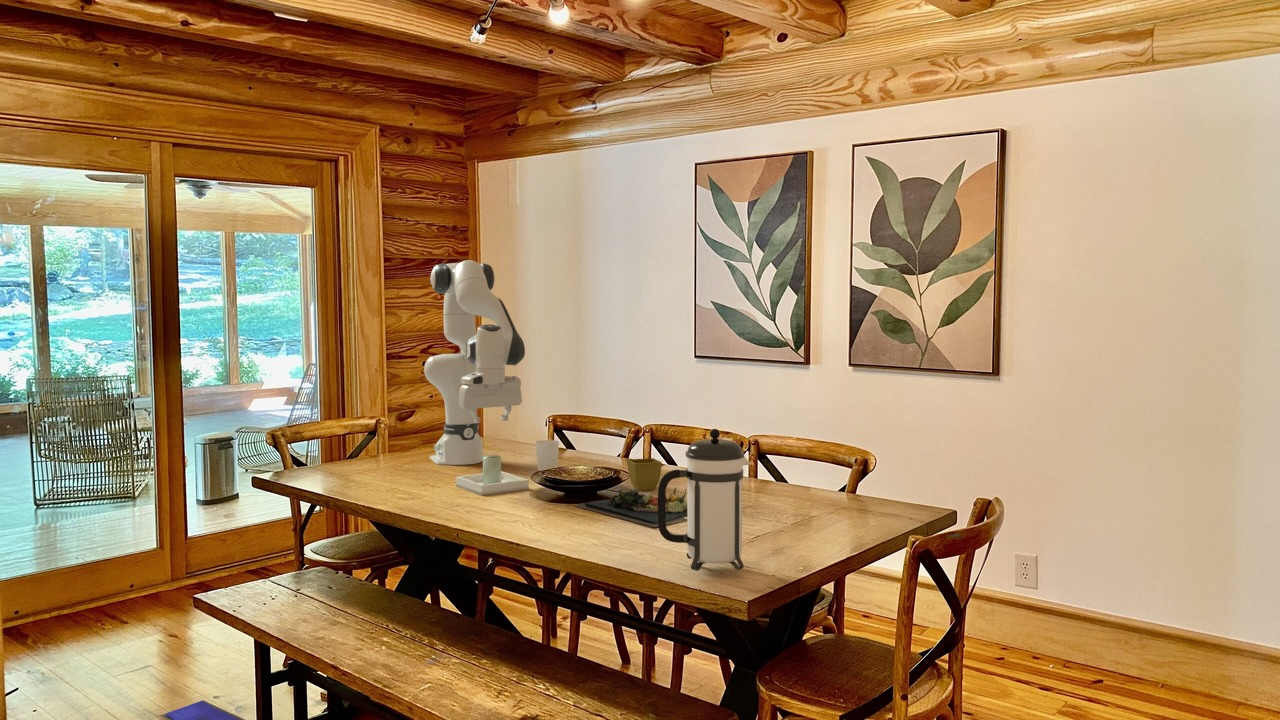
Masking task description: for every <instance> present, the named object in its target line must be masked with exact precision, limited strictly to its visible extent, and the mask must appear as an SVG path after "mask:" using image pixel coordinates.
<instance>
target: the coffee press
mask: <svg viewBox="0 0 1280 720" xmlns="http://www.w3.org/2000/svg"><path fill="white" fill-rule="evenodd" d="M709 436H710V437H711V438H709V439H708V438H707V439H699V440H696V441H694V442H692V443H691V444H690V445H689V446H688V448H687V450H686V451H685V457H686V459H687V468H686V470H685V469H673V470H670V471H668V472H666V473H665V474H664V475H663V476H662V477H661V478H660V480H659V483H658V485H657V486H658V487H657V497H658V530H659V532H660V535H661V536H662V537H663V539H665V540H666V541H668V542H671V543H678V544H679V543H681V544H687V553H686V558H687V559H689V560H692V562H691V564H690V568H691V570H693V571H696V572H699V571H700V569H701V567H702V566H703V565H704V564H727V563H729V564H731V565H732V566H733V568H734V570H735V571H740V570H743V568H744V567H745V566H744V565H745V564H744V563H743V561H742V559H741V556H742V552H743V551H742V550H743V549H742V548H743V542H742V541H743V479H744V469H743V467H744V466H751V462H750V461H749V460H748V459H747V458H746V457H745V452H744V451H743V450H742V447H741V446H740V444H738V442H735V441H733V440H729V439H721V438H719V437H720V436H721V433H720V430H719V429H716V428H713V429H711V430H710V431H709ZM680 478H687V484H686V485H687V489H686V497H687V499H686V501H687V517H686V518H687V521H686V522H687V528H686V529H687V532H686V533H684V534H675V533H671V532H670V531H669V530H668V528H667V525H666V496H667V493H666V492H667V488H668V484H669V483H670V482H671V481H673V480H675V479H680Z"/></svg>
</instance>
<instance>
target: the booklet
mask: <svg viewBox="0 0 1280 720" xmlns="http://www.w3.org/2000/svg"><path fill="white" fill-rule="evenodd" d="M159 717H161V718H162V719H165V720H245V718H242V717H240V716H238V715H235V714H233V713H232V712H229V711H227V710H225V709H224V708H221V707H219V706H216V705H215V704H212V703H209V702H208V701H207V700H200V701H199V700H198V701H197V702H195V703H191V704H189V705H185V706H183V707H180V708H177V709H175V710H171V711H168V712H166V713H163V714H159Z"/></svg>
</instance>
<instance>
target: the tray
mask: <svg viewBox="0 0 1280 720" xmlns="http://www.w3.org/2000/svg"><path fill="white" fill-rule="evenodd" d="M455 486H456V487H458V488H460V489H463V490H466V491H467V492H468V491H469V492H471V493H474V494H476V495H479V496H489V495H490V496H491V495H495V494H504V493H512V492H518V491H520V492H521V491H528V490H530V487H529V479H527V478H525V477H521V476H517V475H515V474H511V473H509V472H506V471H502V470H501V483H493V484H485V485H483V473H476V474H467V475H460V476H455Z"/></svg>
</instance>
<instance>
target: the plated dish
mask: <svg viewBox="0 0 1280 720" xmlns="http://www.w3.org/2000/svg"><path fill="white" fill-rule="evenodd" d="M617 491H618V494H615V495H613V497H611V498H610V499H601V500H595V501H593V500H592V501H588V502H583V503H577V504H572V505H571V506H573V507H577V508H580V509H583V510H584V509H585V510H589V511H590V512H591V511H592V512H595V513H599V514H603V515H606V516H610V517H614V518H618V519H622V520H626V521H628V522H632V523H636V524H640V525H644V526H648V527H650V528H657V527H658V496H653V495H652V491H649V492H647V494H645V493H640V492H641V491H640V490H637V489H635V488H634V489H629V490H625V491H624V489H623V488H619V489H618V490H617ZM676 491H677V486H676V487H674V489H673V492H672V493H673V494H672V493H670V494H669V496H668V497H667V495H666V526H669V525H672V524H677V523H678V524H679V523H682V522H687V519H685V518H687V499H685V498H686V497H687V489H684V494H683V495H681V494H678V493H676ZM658 528H659V527H658Z"/></svg>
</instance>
